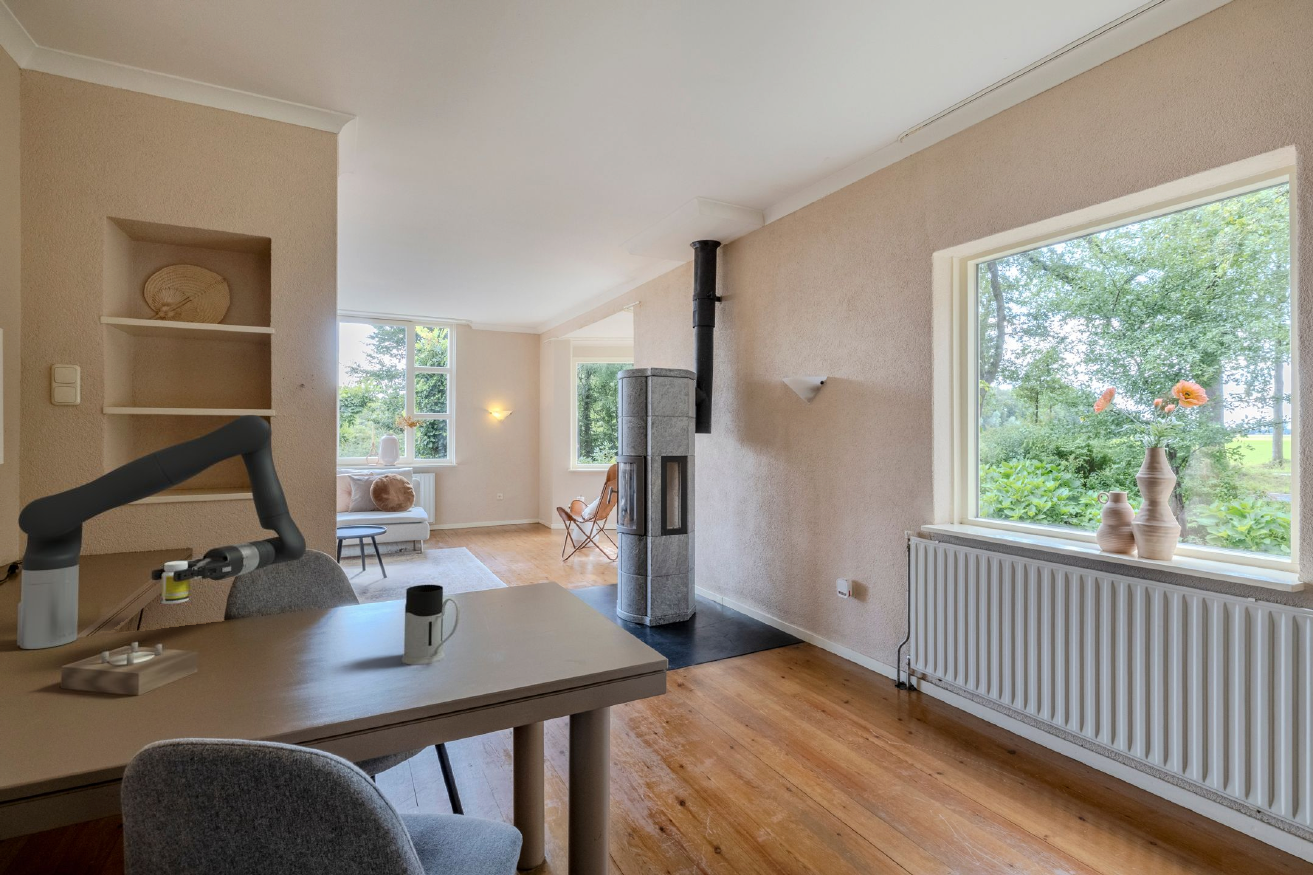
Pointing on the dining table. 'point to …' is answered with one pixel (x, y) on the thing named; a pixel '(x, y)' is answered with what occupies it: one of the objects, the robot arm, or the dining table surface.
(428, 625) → the glass holder
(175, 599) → the supplement bottle
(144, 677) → the seat block
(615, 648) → the dining table surface
